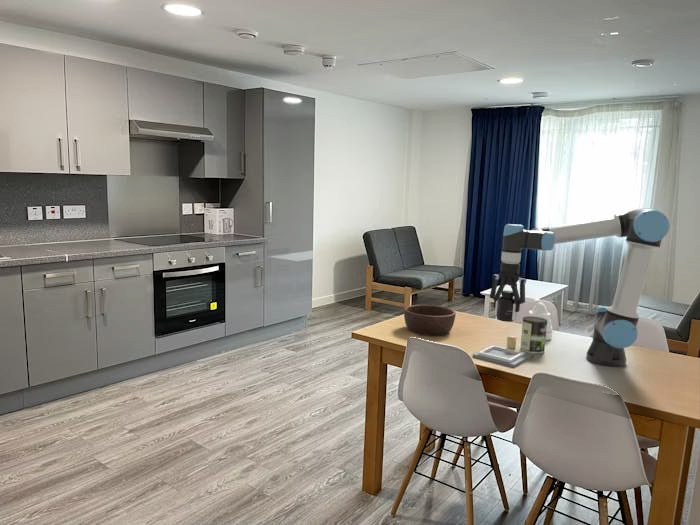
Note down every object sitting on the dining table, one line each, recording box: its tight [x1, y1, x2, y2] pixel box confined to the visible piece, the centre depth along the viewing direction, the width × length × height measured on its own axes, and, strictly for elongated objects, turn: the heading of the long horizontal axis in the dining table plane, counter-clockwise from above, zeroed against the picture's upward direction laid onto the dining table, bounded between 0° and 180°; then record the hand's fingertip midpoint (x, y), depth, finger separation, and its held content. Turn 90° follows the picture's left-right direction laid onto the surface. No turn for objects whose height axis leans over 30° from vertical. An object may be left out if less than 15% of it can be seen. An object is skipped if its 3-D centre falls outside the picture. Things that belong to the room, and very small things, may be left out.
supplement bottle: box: [496, 289, 515, 323], centre depth 217 cm, size 7×7×12 cm
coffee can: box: [519, 316, 548, 355], centre depth 233 cm, size 10×10×14 cm
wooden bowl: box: [403, 304, 457, 337], centre depth 259 cm, size 25×25×10 cm
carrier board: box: [472, 335, 535, 368], centre depth 222 cm, size 18×20×7 cm
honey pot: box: [528, 298, 553, 341], centre depth 256 cm, size 13×13×18 cm
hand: (505, 317), depth 218 cm, fingers closed on supplement bottle, 7 cm apart
